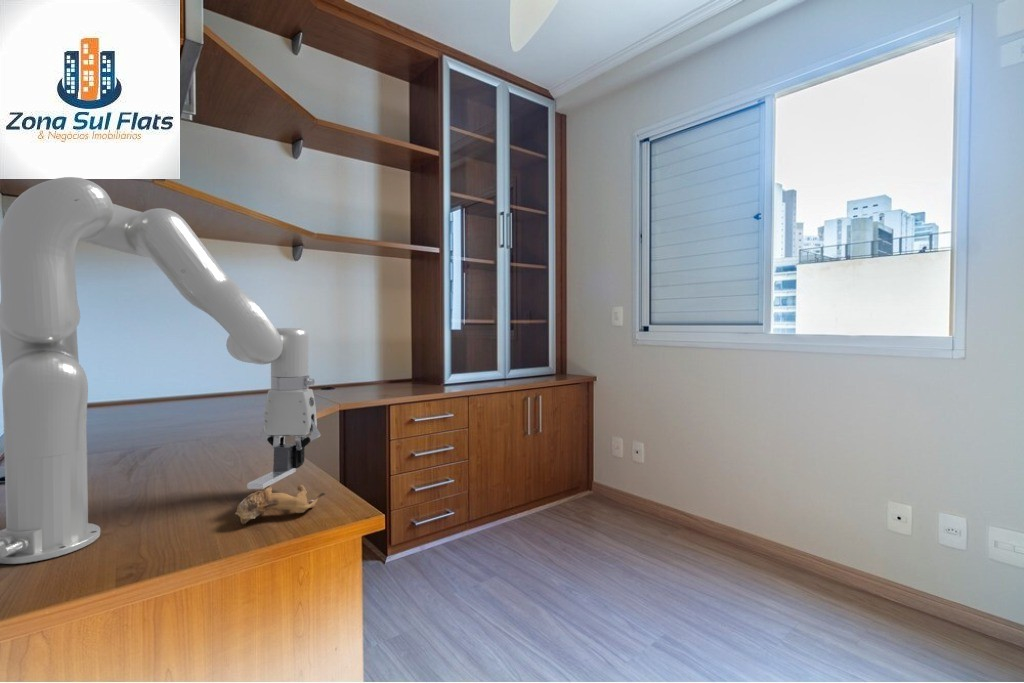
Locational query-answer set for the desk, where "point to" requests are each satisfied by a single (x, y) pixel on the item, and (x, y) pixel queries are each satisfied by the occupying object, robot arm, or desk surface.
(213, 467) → the desk surface
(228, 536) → the desk surface
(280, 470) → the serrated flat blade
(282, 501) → the lion figurine
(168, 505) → the desk surface
